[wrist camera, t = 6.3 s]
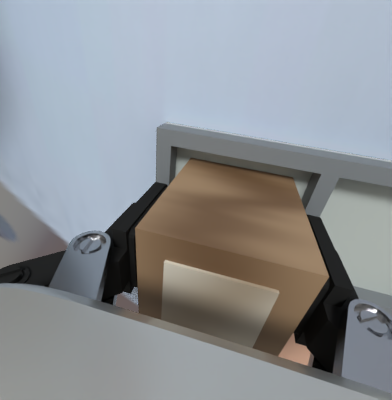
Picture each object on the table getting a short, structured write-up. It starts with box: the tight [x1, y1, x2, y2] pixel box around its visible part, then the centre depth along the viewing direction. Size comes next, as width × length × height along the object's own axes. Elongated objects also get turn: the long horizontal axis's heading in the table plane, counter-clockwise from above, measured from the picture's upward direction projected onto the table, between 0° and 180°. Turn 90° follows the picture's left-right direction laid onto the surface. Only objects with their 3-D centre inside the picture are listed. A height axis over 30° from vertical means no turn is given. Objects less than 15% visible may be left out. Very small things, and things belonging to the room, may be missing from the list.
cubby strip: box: [156, 122, 392, 316], centre depth 11 cm, size 15×8×1 cm, turn 83°
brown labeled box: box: [135, 158, 329, 356], centre depth 9 cm, size 5×5×6 cm
